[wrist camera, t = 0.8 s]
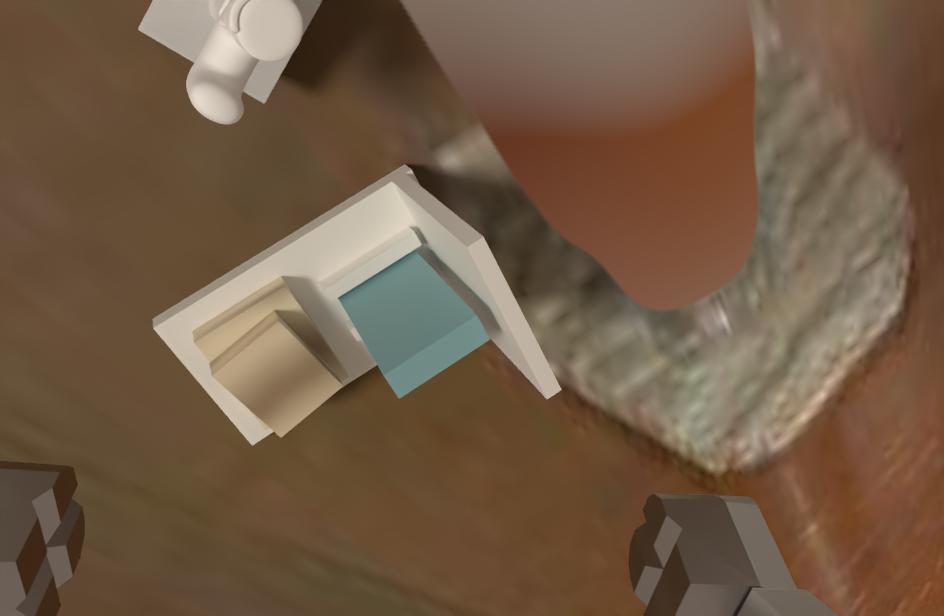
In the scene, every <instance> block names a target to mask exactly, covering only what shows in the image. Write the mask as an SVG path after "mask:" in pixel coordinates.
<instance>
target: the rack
mask: <svg viewBox="0 0 944 616" xmlns="http://www.w3.org/2000/svg"><path fill="white" fill-rule="evenodd" d="M413 250H415V251H416V252H417V253H418V254H419V255H420V256H421V257H422V258H423V259H424V260H425V261H426V262H427V263H428V264H429V265H430V266H431V267H432V268H433V269H434V271H435V272H436V273H437V274H438V275H439V276H440V277H441V278H442V279H443V280H444V281H445V282H446V283H447V284H448V285H449V286H450V287H451V288H452V289H453V291H454V292H455V293H456V294H457V295H458V296H459V297H460V298H461V299H462V300H463V301H464V302H465V303H466V304H467V305H468V306H469V307H470V308H471V309H472V310H473V312H474V313H475V314H476V315H477V316H478V318H479V320H480V322H481V323H482V325H483V327H484V329H485V331H486V333H487V334H488V336H489V337H490V338H491V340H492V341H493V342H494V343H495V344H496V345H497V346H498V347H499V348H500V349H501V350H502V351H503V352H504V354H505V355H506V356H507V357H508V358H509V359H510V360H511V361H512V362H513V363H514V364H515V365H516V366H517V368H518V369H519V370H520V371H521V372H522V373H523V374H524V375H525V376H526V377H527V378H528V379H529V380H530V382H531V383H532V384H533V385H534V386H535V387H536V388H537V389H538V390H539V391H540V392H541V393H542V394H543V396H544V397H545V398H546V399H548V398H550V397H551V396H553V395H554V394H556V393H557V392H559V391H560V390H561V388H560V386H559V384H558V382H557V380H556V378H555V376H554V374H553V372H552V370H551V368H550V366H549V364H548V362H547V360H546V358H545V356H544V354H543V353H542V351H541V349H540V347H539V345H538V343H537V341H536V339H535V337H534V335H533V333H532V331H531V329H530V327H529V325H528V323H527V321H526V319H525V317H524V315H523V313H522V311H521V309H520V307H519V305H518V303H517V301H516V299H515V298H514V296H513V294H512V292H511V290H510V288H509V286H508V284H507V282H506V280H505V278H504V276H503V274H502V272H501V270H500V268H499V266H498V264H497V262H496V260H495V258H494V256H493V254H492V252H491V250H490V248H489V246H488V244H487V243H486V241H485V239H484V237H483V236H482V235H481V234H480V233H478V232H477V231H476V230H475V229H473V228H472V227H471V226H470V225H468V224H467V223H466V222H465V221H463V220H462V219H461V218H460V217H458V216H457V215H456V214H455V213H454V212H452V211H451V210H450V209H449V208H447V207H446V206H445V205H444V204H442V203H441V202H440V201H439V200H437V199H436V198H435V197H434V196H432V195H431V194H430V193H429V192H427V191H426V190H425V189H424V188H422V187H421V186H420V184H419V182H418V181H417V179H416V177H415V175H414V173H413V171H412V169H410V168H409V167H408V166H406V165H405V164H404V165H403V166H401V167H399V168H398V169H396V170H395V171H393V172H391V173H390V174H388V175H386V176H385V177H383V178H381V179H380V180H378V181H377V182H375V183H373V184H372V185H370V186H368V187H367V188H365V189H364V190H362V191H360V192H359V193H357V194H355V195H354V196H352V197H350V198H349V199H347V200H346V201H344V202H342V203H341V204H339V205H337V206H336V207H334V208H333V209H331V210H329V211H328V212H326V213H324V214H323V215H321V216H319V217H318V218H316V219H315V220H313V221H311V222H310V223H308V224H306V225H305V226H303V227H302V228H300V229H298V230H297V231H295V232H293V233H292V234H290V235H288V236H287V237H285V238H284V239H282V240H280V241H279V242H277V243H275V244H274V245H272V246H271V247H269V248H267V249H266V250H264V251H262V252H261V253H259V254H258V255H256V256H254V257H253V258H251V259H249V260H248V261H246V262H244V263H243V264H241V265H240V266H238V267H236V268H235V269H233V270H231V271H230V272H228V273H227V274H225V275H223V276H222V277H220V278H218V279H217V280H215V281H213V282H212V283H210V284H209V285H207V286H205V287H204V288H202V289H200V290H199V291H197V292H196V293H194V294H192V295H191V296H189V297H187V298H186V299H184V300H182V301H181V302H179V303H178V304H176V305H174V306H173V307H171V308H169V309H168V310H166V311H165V312H163V313H161V314H160V315H158V316H156V317H155V318H153V329H154V330H155V331H156V332H157V333H158V335H159V336H160V337H161V338H162V339H163V340H164V342H165V343H166V344H167V345H168V346H169V348H170V349H171V350H172V351H173V352H174V353H175V355H176V356H177V357H178V358H179V359H180V361H181V362H182V363H183V364H184V365H185V367H186V368H187V369H188V370H189V371H190V372H191V374H192V375H193V376H194V377H195V378H196V380H197V381H198V382H199V383H200V384H201V385H202V387H203V388H204V389H205V390H206V391H207V393H208V394H209V395H210V396H211V397H212V399H213V400H214V401H215V402H216V403H217V404H218V406H219V407H220V408H221V409H222V410H223V412H224V413H225V414H226V415H227V416H228V418H229V419H230V420H231V421H232V422H233V423H234V425H235V426H236V427H237V428H238V429H239V431H240V432H241V433H242V434H243V435H244V436H245V438H246V439H247V440H248V441H249V442H250V444H251V445H254V444H255V443H257V442H258V441H260V440H261V439H263V438H265V437H266V436H268V435H269V434H271V433H272V432H274V431H273V430H272V429H271V428H268V429H267V430H265V429H264V427H263V426H262V425H261V424H260V423H259V421H258V420H257V419H256V418H255V416H254V415H253V414H252V413H251V412H250V410H249V409H248V408H247V407H246V406H245V405H244V404H242V403H241V402H240V401H239V400H238V399H237V398H236V397H235V396H233V395H232V394H231V393H230V392H229V391H228V390H227V389H226V388H224V387H223V386H222V385H221V384H220V383H219V382H218V381H217V380H215V379H214V378H213V377H212V375H211V370H210V364H209V363H210V361H209V360H208V359H207V358H206V357H205V355H204V354H203V353H202V352H201V350H200V349H199V348H198V347H197V346H196V344H195V343H194V338H193V332H192V331H193V330H194V329H196V328H198V327H199V326H201V325H202V324H204V323H206V322H207V321H209V320H210V319H212V318H214V317H215V316H217V315H219V314H220V313H222V312H223V311H225V310H227V309H228V308H230V307H231V306H233V305H235V304H236V303H238V302H240V301H241V300H243V299H244V298H246V297H248V296H249V295H251V294H252V293H254V292H256V291H257V290H259V289H261V288H262V287H264V286H265V285H267V284H269V283H270V282H272V281H273V280H275V279H277V278H278V277H280V276H281V277H282V278H283V279H284V281H285V282H286V284H287V285H288V287H289V288H290V290H291V291H292V292H293V294H294V295H295V297H296V298H297V300H298V301H299V302H300V304H301V305H302V307H303V308H304V310H305V311H306V312H307V314H308V315H309V317H310V318H311V320H312V321H313V322H314V324H315V325H316V327H317V328H318V330H319V331H320V333H321V334H322V335H323V337H324V338H325V340H326V341H327V343H328V344H329V345H330V347H331V348H332V350H333V351H334V353H335V354H336V355H337V357H338V358H339V360H340V361H341V363H342V364H343V366H344V368H345V370H346V372H347V374H348V376H349V377H348V378H346V379H345V380H343V381H341V383H342V385H343V387H344V386H345V385H347V384H348V383H350V382H351V381H353V380H354V379H356V378H358V377H359V376H361V375H362V374H364V373H365V372H367V371H368V370H370V369H371V368H373V367H375V366H376V365H377V364H376V362H375V360H374V359H373V357H372V355H371V353H370V352H369V350H368V348H367V347H366V345H365V343H364V342H363V340H362V338H361V337H360V335H359V333H358V331H357V330H356V328H355V326H354V325H353V323H352V321H351V320H350V318H349V316H348V315H347V313H346V311H345V309H344V308H343V306H342V304H341V303H340V301H339V299H338V297H340V296H342V295H343V294H345V293H346V292H348V291H350V290H351V289H353V288H354V287H356V286H358V285H359V284H361V283H362V282H364V281H365V280H367V279H369V278H370V277H372V276H373V275H375V274H377V273H378V272H380V271H381V270H383V269H385V268H386V267H388V266H389V265H391V264H392V263H394V262H396V261H397V260H399V259H400V258H402V257H404V256H405V255H407V254H408V253H410V252H412V251H413Z"/></svg>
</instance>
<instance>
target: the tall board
mask: <svg viewBox="0 0 944 616" xmlns="http://www.w3.org/2000/svg"><path fill="white" fill-rule="evenodd" d="M338 299H339V301H340V303H341V304H342V306H343V308H344V309H345V311H346V313H347V315H348V316H349V318H350V320H351V321H352V323H353V325H354V326H355V328H356V330H357V331H358V333H359V335H360V337H361V338H362V340H363V342H364V343H365V345H366V347H367V348H368V350H369V352H370V353H371V355H372V357H373V359H374V360H375V362H376V364H377V365H378V367H379V369H380V370H381V372H382V374H383V375H384V377H385V378H386V380H387V381H388V383H389V384H390V386H391V387H392V389H393V390H394V392H395V393H396V395H397V396H398V398H399V399H400V398H401V397H403V396H404V395H406V394H407V393H409V392H410V391H412V390H413V389H415V388H416V387H418V386H419V385H421V384H423V383H424V382H426V381H427V380H429V379H430V378H432V377H433V376H435V375H436V374H438V373H439V372H441V371H442V370H444V369H445V368H447V367H449V366H450V365H452V364H453V363H455V362H456V361H458V360H459V359H461V358H462V357H464V356H465V355H467V354H468V353H470V352H471V351H473V350H475V349H476V348H478V347H479V346H481V345H482V344H484V343H485V342H487V341H488V340H490V338H489V336H488V334H487V333H486V331H485V329H484V327H483V325H482V323H481V322H480V320H479V318H478V316H477V315H476V314H475V313H474V312H473V310H472V309H471V308H470V307H469V306H468V305H467V304H466V303H465V302H464V301H463V300H462V299H461V298H460V297H459V296H458V295H457V294H456V293H455V292H454V291H453V289H452V288H451V287H450V286H449V285H448V284H447V283H446V282H445V281H444V280H443V279H442V278H441V277H440V276H439V275H438V274H437V273H436V272H435V271H434V269H433V268H432V267H431V266H430V265H429V264H428V263H427V262H426V261H425V260H424V259H423V258H422V257H421V256H420V255H419V254H418V253H417V252H416V251H415V250H413V251H412V252H410V253H408V254H407V255H405V256H404V257H402V258H400V259H399V260H397V261H396V262H394V263H392V264H391V265H389V266H388V267H386V268H385V269H383V270H381V271H380V272H378V273H377V274H375V275H373V276H372V277H370V278H369V279H367V280H365V281H364V282H362V283H361V284H359V285H358V286H356V287H354V288H353V289H351V290H350V291H348V292H346V293H345V294H343V295H342V296H340V297H338Z"/></svg>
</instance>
